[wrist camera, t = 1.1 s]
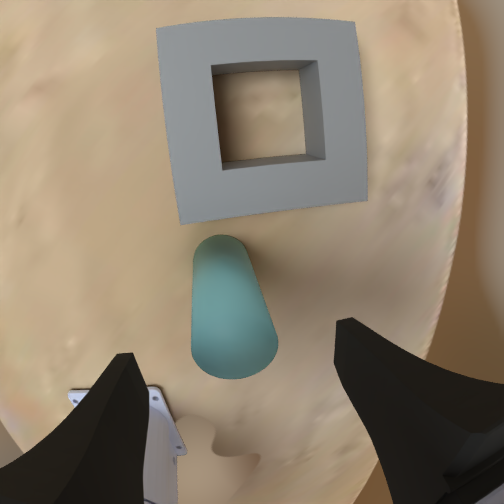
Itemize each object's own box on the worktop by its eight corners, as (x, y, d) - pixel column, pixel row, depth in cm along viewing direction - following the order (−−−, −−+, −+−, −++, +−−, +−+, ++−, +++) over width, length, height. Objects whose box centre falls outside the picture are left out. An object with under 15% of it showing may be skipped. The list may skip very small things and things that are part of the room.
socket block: (343, 188, 18) (367, 200, 15) (183, 208, 17) (180, 224, 15) (331, 35, 15) (354, 22, 12) (163, 44, 14) (156, 28, 11)
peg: (251, 281, 20) (280, 371, 12) (198, 289, 19) (200, 384, 12) (245, 231, 18) (275, 305, 11) (189, 239, 18) (182, 319, 11)
